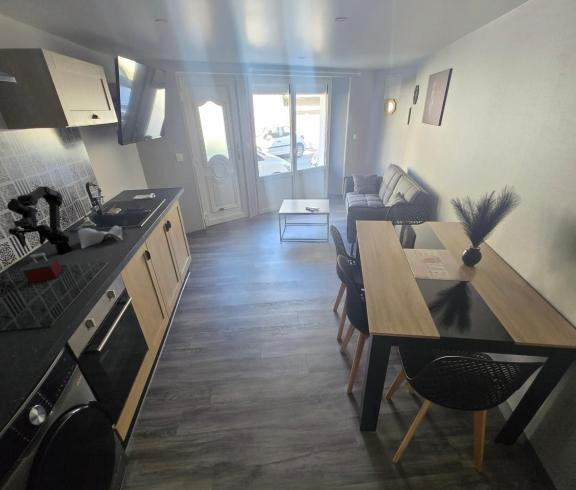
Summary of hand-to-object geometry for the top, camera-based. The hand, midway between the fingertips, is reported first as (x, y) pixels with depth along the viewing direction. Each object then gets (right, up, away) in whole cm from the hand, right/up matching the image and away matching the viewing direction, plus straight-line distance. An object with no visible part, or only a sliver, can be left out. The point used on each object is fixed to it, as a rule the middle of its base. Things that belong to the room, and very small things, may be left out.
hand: (32, 245), depth 161 cm
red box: (+8, -17, 0) cm, 18 cm away
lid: (+8, -11, -4) cm, 14 cm away
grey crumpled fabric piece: (+16, +11, +39) cm, 43 cm away
